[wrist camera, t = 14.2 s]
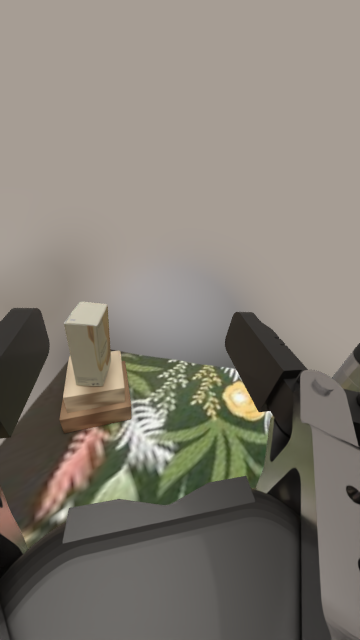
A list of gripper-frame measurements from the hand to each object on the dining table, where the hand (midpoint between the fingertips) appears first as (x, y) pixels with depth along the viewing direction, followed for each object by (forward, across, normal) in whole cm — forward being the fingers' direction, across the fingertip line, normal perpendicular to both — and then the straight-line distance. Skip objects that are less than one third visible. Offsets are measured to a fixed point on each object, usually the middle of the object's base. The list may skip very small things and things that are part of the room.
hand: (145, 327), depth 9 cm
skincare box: (+19, +7, +24) cm, 32 cm away
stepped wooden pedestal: (+19, +7, +32) cm, 38 cm away
